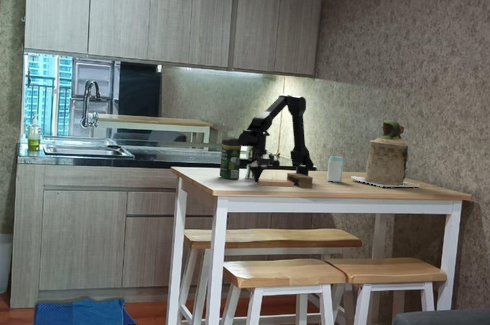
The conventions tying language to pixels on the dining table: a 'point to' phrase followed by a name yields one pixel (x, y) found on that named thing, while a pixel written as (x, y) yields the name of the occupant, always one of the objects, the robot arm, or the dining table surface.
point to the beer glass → (248, 155)
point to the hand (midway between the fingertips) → (256, 182)
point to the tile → (275, 182)
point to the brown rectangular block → (300, 179)
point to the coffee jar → (230, 158)
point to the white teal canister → (335, 169)
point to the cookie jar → (387, 158)
